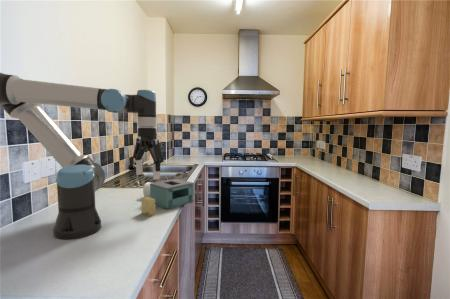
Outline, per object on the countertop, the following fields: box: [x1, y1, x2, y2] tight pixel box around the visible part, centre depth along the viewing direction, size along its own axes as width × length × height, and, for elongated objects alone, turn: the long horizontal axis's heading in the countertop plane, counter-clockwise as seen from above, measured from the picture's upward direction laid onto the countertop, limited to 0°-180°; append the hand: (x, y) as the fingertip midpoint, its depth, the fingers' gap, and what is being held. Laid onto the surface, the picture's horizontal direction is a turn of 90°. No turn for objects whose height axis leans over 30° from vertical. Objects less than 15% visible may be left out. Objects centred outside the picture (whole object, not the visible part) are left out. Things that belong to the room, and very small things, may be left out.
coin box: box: [150, 178, 194, 210], centre depth 127 cm, size 16×14×10 cm
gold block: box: [141, 196, 156, 217], centre depth 111 cm, size 6×3×7 cm, turn 48°
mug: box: [142, 182, 151, 197], centre depth 138 cm, size 12×10×8 cm
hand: (147, 176), depth 110 cm, fingers open, 13 cm apart
